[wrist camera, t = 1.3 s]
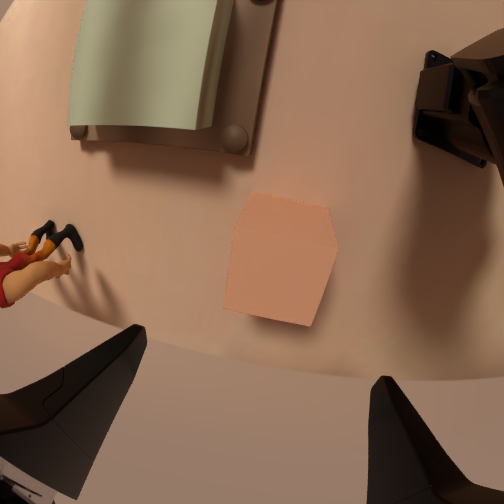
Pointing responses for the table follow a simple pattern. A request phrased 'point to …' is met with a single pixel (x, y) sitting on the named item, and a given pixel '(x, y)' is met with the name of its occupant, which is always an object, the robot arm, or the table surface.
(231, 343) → the table surface
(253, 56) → the tower base
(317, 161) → the table surface
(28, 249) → the action figure
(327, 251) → the terracotta brick
